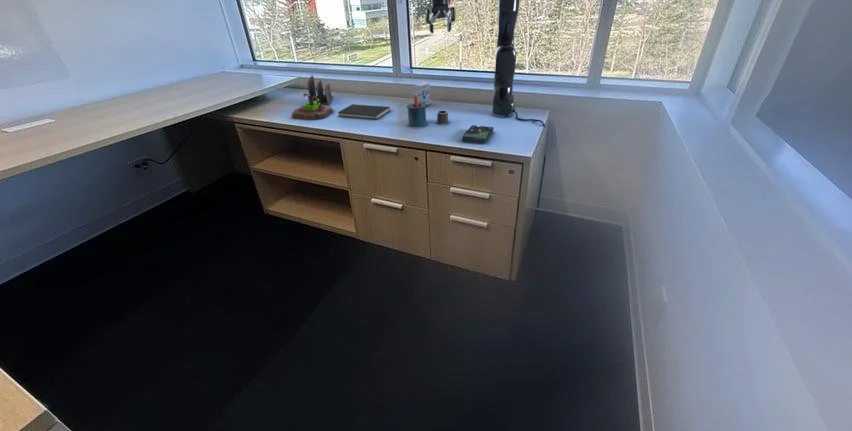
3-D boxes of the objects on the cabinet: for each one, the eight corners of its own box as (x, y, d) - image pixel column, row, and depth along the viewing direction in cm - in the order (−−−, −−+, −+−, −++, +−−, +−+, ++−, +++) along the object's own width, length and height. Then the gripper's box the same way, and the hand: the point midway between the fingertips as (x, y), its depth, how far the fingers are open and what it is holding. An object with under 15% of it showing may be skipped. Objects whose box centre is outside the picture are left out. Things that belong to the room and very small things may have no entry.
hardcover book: (377, 119, 193) (376, 115, 192) (338, 116, 201) (337, 112, 200) (390, 110, 206) (389, 106, 205) (353, 107, 213) (352, 103, 212)
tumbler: (429, 123, 185) (429, 105, 180) (419, 129, 179) (418, 110, 174) (416, 121, 189) (415, 103, 184) (405, 126, 183) (403, 107, 178)
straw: (420, 123, 184) (418, 94, 176) (417, 124, 183) (416, 95, 175) (417, 123, 185) (415, 93, 177) (415, 124, 183) (413, 94, 176)
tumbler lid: (430, 105, 180) (430, 104, 180) (418, 110, 174) (418, 109, 173) (415, 102, 185) (414, 101, 184) (403, 107, 178) (402, 106, 178)
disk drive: (471, 130, 174) (462, 141, 163) (471, 124, 173) (462, 135, 161) (493, 132, 171) (485, 144, 159) (493, 126, 169) (486, 137, 158)
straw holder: (450, 122, 185) (450, 111, 182) (444, 125, 182) (443, 114, 179) (441, 120, 188) (441, 109, 185) (435, 123, 184) (435, 112, 182)
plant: (304, 108, 216) (300, 88, 211) (336, 109, 213) (333, 88, 207) (287, 119, 200) (282, 98, 194) (321, 120, 196) (317, 98, 190)
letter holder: (311, 106, 219) (306, 81, 212) (315, 97, 236) (311, 74, 229) (328, 105, 220) (324, 80, 213) (331, 96, 237) (327, 73, 229)
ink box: (422, 107, 208) (421, 85, 202) (414, 106, 211) (413, 84, 204) (430, 103, 214) (429, 82, 208) (423, 102, 217) (422, 81, 211)
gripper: (427, -6, 168) (429, 34, 177) (457, -8, 171) (457, 32, 180) (422, -6, 174) (424, 32, 183) (451, -8, 178) (451, 30, 186)
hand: (440, 32), depth 181 cm, fingers open, 8 cm apart
